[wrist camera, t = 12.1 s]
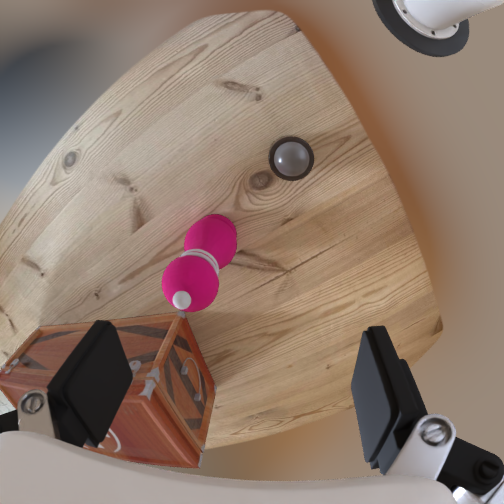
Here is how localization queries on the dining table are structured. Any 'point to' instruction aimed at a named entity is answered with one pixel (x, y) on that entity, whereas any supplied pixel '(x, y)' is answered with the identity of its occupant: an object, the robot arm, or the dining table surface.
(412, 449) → the robot arm
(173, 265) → the pepper mill
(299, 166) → the salt shaker
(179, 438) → the wooden box
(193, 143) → the dining table surface
